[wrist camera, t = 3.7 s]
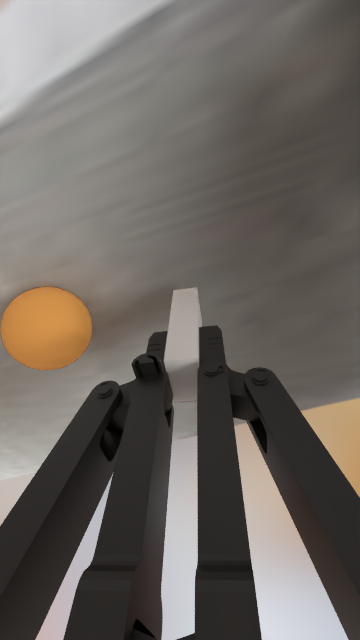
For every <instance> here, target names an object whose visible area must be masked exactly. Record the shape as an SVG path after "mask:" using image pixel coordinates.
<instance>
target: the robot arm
mask: <svg viewBox="0 0 360 640" xmlns="http://www.w3.org/2000/svg"><path fill="white" fill-rule="evenodd" d="M132 367H133V370H134V373H135V376H136V379H135V380H133V381H131V382H129V383H126V384H123V385H120V386H119V384H118V383H117V382H114V381H105V382H102V383H100V384H99V385H97V386H96V387H95V388H94V389H93V390H92V392H91V393H90V394H89V396H88V397H87V399H86V400H85V402H84V403H83V405H82V406H81V408H80V409H79V411H78V412H77V414H76V415H75V417H74V418H73V420H72V421H71V423H70V424H69V425H68V427H67V428H66V430H65V431H64V433H63V434H62V436H61V437H60V439H59V440H58V442H57V443H56V445H55V446H54V448H53V449H52V451H51V452H50V454H49V455H48V457H47V458H46V459H45V461H44V462H43V464H42V465H41V467H40V468H39V470H38V471H37V473H36V474H35V476H34V477H33V479H32V480H31V482H30V483H29V485H28V486H27V488H26V489H25V490H24V492H23V493H22V495H21V496H20V498H19V499H18V501H17V502H16V504H15V505H14V507H13V508H12V510H11V511H10V513H9V514H8V516H7V517H6V519H5V520H4V522H3V523H2V524H1V526H0V640H35V639H36V637H37V635H38V633H39V631H40V629H41V626H42V624H43V622H44V620H45V618H46V615H47V614H48V611H49V609H50V607H51V605H52V603H53V601H54V599H55V596H56V594H57V592H58V590H59V588H60V586H61V583H62V581H63V579H64V577H65V575H66V573H67V571H68V568H69V566H70V564H71V562H72V560H73V558H74V556H75V553H76V551H77V549H78V547H79V545H80V542H81V540H82V538H83V536H84V534H85V532H86V530H87V528H88V525H89V523H90V521H91V519H92V517H93V515H94V512H95V510H96V508H97V506H98V504H99V502H100V500H101V497H102V495H103V493H104V491H105V489H106V487H107V484H108V482H109V480H110V478H111V476H112V474H113V477H112V481H111V486H110V490H109V494H108V498H107V502H106V507H105V511H104V515H103V519H102V524H101V528H100V532H99V536H98V541H97V545H96V549H95V553H94V557H93V560H92V562H91V564H90V566H89V567H88V568H87V569H86V570H85V571H84V572H83V574H82V576H81V578H80V580H79V583H78V586H77V589H76V593H75V597H74V601H73V604H72V609H71V612H70V616H69V620H68V624H67V628H66V632H65V635H64V639H63V640H161V636H162V601H161V581H162V567H163V553H164V539H165V526H166V511H167V499H168V485H169V471H170V457H171V444H172V430H173V417H174V410H173V405H172V399H174V402H188V401H197V429H198V565H197V569H196V577H195V633H194V634H191V635H189V636H186V637H183V638H180V639H177V640H262V639H261V631H260V623H259V616H258V607H257V600H256V592H255V584H254V577H253V570H252V564H251V558H250V549H249V541H248V533H247V525H246V518H245V509H244V501H243V494H242V485H241V477H240V469H239V462H238V454H237V446H236V438H235V430H234V422H233V417H234V418H239V419H243V420H246V421H247V424H248V426H249V428H250V430H251V432H252V434H253V436H254V438H255V441H256V443H257V445H258V447H259V449H260V451H261V453H262V456H263V458H264V460H265V462H266V464H267V466H268V468H269V470H270V473H271V475H272V477H273V479H274V481H275V483H276V485H277V487H278V490H279V492H280V494H281V496H282V498H283V500H284V502H285V505H286V507H287V509H288V511H289V513H290V515H291V517H292V519H293V522H294V524H295V526H296V528H297V530H298V532H299V534H300V536H301V539H302V541H303V543H304V545H305V547H306V549H307V551H308V554H309V556H310V558H311V560H312V562H313V564H314V566H315V569H316V571H317V573H318V575H319V577H320V579H321V581H322V584H323V586H324V588H325V590H326V592H327V594H328V596H329V598H330V600H331V603H332V604H333V607H334V609H335V611H336V613H337V616H338V617H339V620H340V622H341V624H342V626H343V628H344V630H345V633H346V635H347V637H348V639H349V640H360V497H359V496H358V495H357V493H356V492H355V490H354V489H353V487H352V486H351V484H350V483H349V481H348V480H347V479H346V477H345V476H344V474H343V473H342V471H341V470H340V468H339V467H338V465H337V464H336V463H335V461H334V460H333V458H332V457H331V455H330V454H329V452H328V451H327V449H326V448H325V447H324V445H323V444H322V442H321V441H320V439H319V438H318V436H317V435H316V434H315V432H314V431H313V429H312V428H311V426H310V425H309V423H308V422H307V420H306V419H305V417H304V416H303V415H302V413H301V412H300V410H299V409H298V407H297V406H296V404H295V403H294V401H293V400H292V399H291V397H290V396H289V394H288V393H287V391H286V390H285V388H284V387H283V385H282V384H281V383H280V381H279V380H278V378H277V377H276V375H275V374H274V373H273V372H272V371H270V370H268V369H266V368H260V367H259V368H253V369H250V370H248V371H247V372H246V373H245V374H243V373H238V372H235V371H233V370H231V369H230V368H229V367H228V366H227V365H226V361H225V353H224V346H223V338H222V331H221V329H220V328H219V327H218V326H217V325H216V326H207V327H202V318H201V311H200V304H199V297H198V290H197V287H194V288H186V289H178V290H173V297H172V304H171V311H170V319H169V326H168V331H164V332H155V333H153V335H152V336H151V337H150V338H149V342H148V347H147V351H146V354H142V355H140V356H138V357H137V358H135V359H134V360H133V362H132ZM113 472H114V473H113Z"/></svg>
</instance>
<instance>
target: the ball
mask: <svg viewBox="0 0 360 640" xmlns="http://www.w3.org/2000/svg"><path fill="white" fill-rule="evenodd" d="M0 331H1V338H2V341H3V344H4V346H5V348H6V350H7V351H8V353H9V354H10V355H11V356H12V357H13V358H14V359H15V360H17V361H18V362H19V363H21V364H23V365H25V366H27V367H30V368H33V369H38V370H53V369H58V368H62V367H64V366H67V365H69V364H71V363H72V362H74V361H75V360H76V359H78V358H79V357H80V356H81V355H82V354H83V352H84V351H85V350H86V348H87V346H88V345H89V342H90V339H91V335H92V321H91V317H90V314H89V312H88V310H87V308H86V306H85V305H84V304H83V303H82V301H81V300H80V299H79V298H77V297H76V296H75V295H73V294H72V293H70V292H68V291H65V290H63V289H59V288H54V287H39V288H34V289H31V290H28V291H26V292H24V293H22V294H20V295H19V296H18V297H16V298H15V299H14V300H13V301H12V302H11V303H10V304H9V305H8V307H7V308H6V310H5V312H4V314H3V317H2V320H1V328H0Z"/></svg>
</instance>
